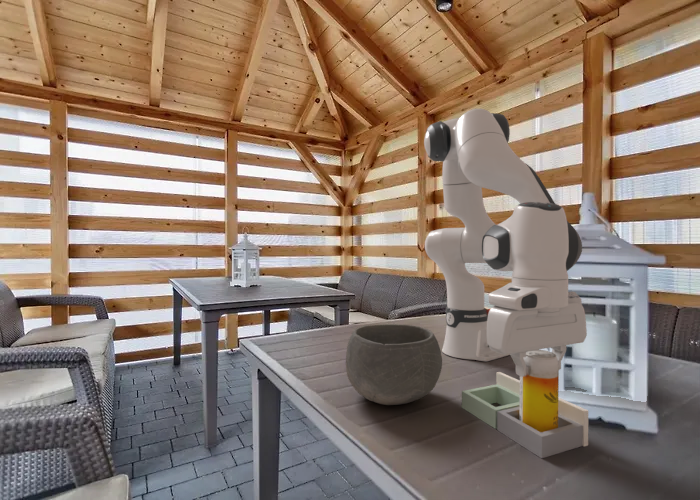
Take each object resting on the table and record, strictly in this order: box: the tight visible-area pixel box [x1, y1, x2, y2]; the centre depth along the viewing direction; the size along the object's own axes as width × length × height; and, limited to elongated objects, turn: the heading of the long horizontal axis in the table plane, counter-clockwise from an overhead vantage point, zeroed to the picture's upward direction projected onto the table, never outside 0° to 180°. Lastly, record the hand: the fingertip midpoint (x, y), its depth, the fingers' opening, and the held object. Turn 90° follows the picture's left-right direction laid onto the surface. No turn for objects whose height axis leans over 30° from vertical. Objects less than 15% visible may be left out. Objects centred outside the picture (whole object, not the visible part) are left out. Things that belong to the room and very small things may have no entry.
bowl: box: [345, 323, 443, 406], centre depth 81 cm, size 21×21×15 cm
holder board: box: [461, 371, 589, 459], centre depth 70 cm, size 10×20×6 cm, turn 22°
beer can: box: [519, 349, 560, 432], centre depth 65 cm, size 6×6×15 cm
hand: (538, 372), depth 65 cm, fingers closed on beer can, 6 cm apart
